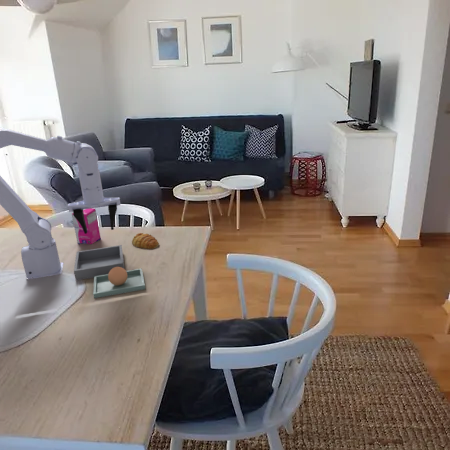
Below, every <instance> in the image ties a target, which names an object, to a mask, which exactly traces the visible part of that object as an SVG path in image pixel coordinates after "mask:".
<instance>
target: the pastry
mask: <svg viewBox="0 0 450 450" xmlns="http://www.w3.org/2000/svg"><path fill="white" fill-rule="evenodd" d="M131 244H132V245H133V247H136V248H139V249H140V248H141V249H145V250H146V249H147V250H151V249H152V250H153V249H157V248H158V247H159V244H160V243H159V241H158V239H156V238H155V237H154V236H153V235H151V234H149V233H144V232H139V233H137V234H136V235H134V236H133V238H132V240H131Z"/></svg>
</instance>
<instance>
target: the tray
mask: <svg viewBox="0 0 450 450" xmlns="http://www.w3.org/2000/svg"><path fill="white" fill-rule="evenodd" d="M126 272H127V280H126V282H125V283H124V284H122V285H118V286H117V285H113V284H112V283H111V282H110V281H109V279H108V274H105V275H99V276H94V278H93V294H92V295H93V299H97V298H103V297H109V296H115V295H120V294H126V293H133V292H138V291H144V290H146V284H145V278H144V273H143V269H142V268H135V269H130V270H126Z"/></svg>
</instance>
